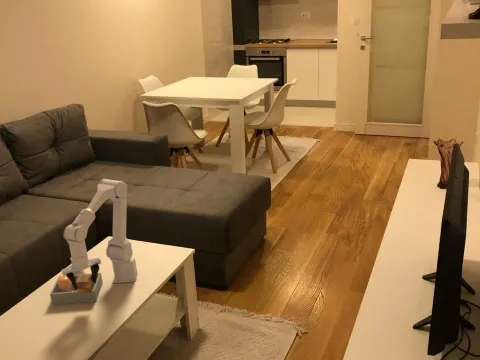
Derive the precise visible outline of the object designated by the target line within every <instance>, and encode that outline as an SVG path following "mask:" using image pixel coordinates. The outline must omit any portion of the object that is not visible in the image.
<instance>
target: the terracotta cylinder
mask: <svg viewBox="0 0 480 360" xmlns="http://www.w3.org/2000/svg"><path fill="white" fill-rule="evenodd" d="M59 276H60V277H59ZM59 276H58V277H59V278H58V277H57V280H56V281H58V286H59V291H60V292H72V291H73V289H72V284H71V281H70V280H69V278H68V277H67V276H63V275H59Z"/></svg>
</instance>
